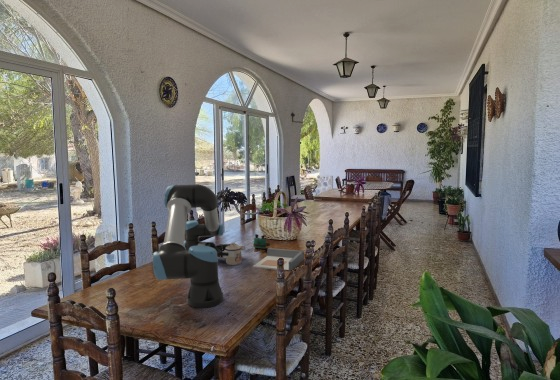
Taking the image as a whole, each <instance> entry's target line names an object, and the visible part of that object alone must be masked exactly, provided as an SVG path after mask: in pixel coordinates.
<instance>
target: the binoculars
mask: <svg viewBox="0 0 560 380" xmlns="http://www.w3.org/2000/svg"><path fill="white" fill-rule="evenodd" d="M254 236H255V237H254V238H253V248H254V249H253V251H254V252H258V251H259V250H260V253H265V251H267V249H268V248H269V247H270V245H271V244H270V243H269V242H267V240H266V238H265V234H263V235H261V238H260V237H259V234H256V233H255V234H254Z"/></svg>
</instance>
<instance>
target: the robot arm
mask: <svg viewBox="0 0 560 380" xmlns="http://www.w3.org/2000/svg"><path fill="white" fill-rule="evenodd" d="M163 199H164V200H163V201H164V202H163V203H164V206H165V208H166V209H167V210H168V217H167V222H166V227H165V234H164V238H163V239H164V240H163V244H161V245H160V246H159V247H158V251H154V252H153V253H152V270H153V274H154V277H155V279H157V280H159V281H160V280H163V281H164V280H165V281H167V280H179V279H180V280H183V279H184V280H186V279H190V286H189V289H188V293H187V297H186V302H187V303H186V304H187V305H188V306H190V307H192V308H197V309H198V308H199V309H200V308H201V309H202V308H203V309H204V308H206V309H207V308H211V307H214V306H215V307H216V306H218V305H220V304H221V303H222V302H224V293H223V290H222V287H221V285H220V282H219V265H218V263H219V258H224V257H226V256H227V257H235V256H234V252H229V251H226V249H225V248H226V247H227V246H229V245H231V243H225V244H222V243H219V244H217V245H216V243H214V242H211V241H200V238H204V237H222V236H223V235H224V223H220V220H219V215H218V205H219V202H218V197H217V195H216V193H215V192H214V191H213V190H212V189H211V188H209V187H208V186H206V185H204V184H173V185H169V186H167V187H166V189H165V192H164V197H163ZM194 208H195V209H196V208H200V210H202V212H203V213H202V214H203V217H204V223H199V221H198V220H187V219H188V214H189V213H190V212H191V210H192V209H194ZM238 245H239V244H238ZM239 246H241V251H243V252H244V251H246V245H241V244H240V245H239Z"/></svg>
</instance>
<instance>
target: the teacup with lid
mask: <svg viewBox="0 0 560 380" xmlns="http://www.w3.org/2000/svg"><path fill="white" fill-rule="evenodd" d="M230 244H231V245H229V246H227V247H226V248H225V249H226V250H225V251H229V252H234V256H235V257H227V256H225V262H226V263H225V264H227V265H230V266H236V265H240V264H241V263H242V250H241V246H239V244H237V243H236V242H235V241H234V242H231V243H230Z"/></svg>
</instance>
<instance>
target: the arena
mask: <svg viewBox="0 0 560 380" xmlns="http://www.w3.org/2000/svg"><path fill="white" fill-rule="evenodd" d="M267 248H268V249H267V250H266V254H267V255H266V256H265V257H264V258H262V259H261V260H259V261H258V262H257V263H255V264H254V265H253V266H252V268H257V269H265V270H275V271H278V270H277V260H278V259H279V258H283V259H284V270H289V271H288V272H292V271H291V270H293V269H294V268H295V269H296V268H297V267H298V266H299V265H300V264H301V263H302V262H304V259H305V251H304V250H298V249H287V248H285V249H283V248H275V247H274V248H273V247H272V248H271V247H270V248H269V247H267ZM300 262H301V263H300ZM297 265H298V266H297ZM295 269H294V270H295ZM294 270H293V271H294Z"/></svg>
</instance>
